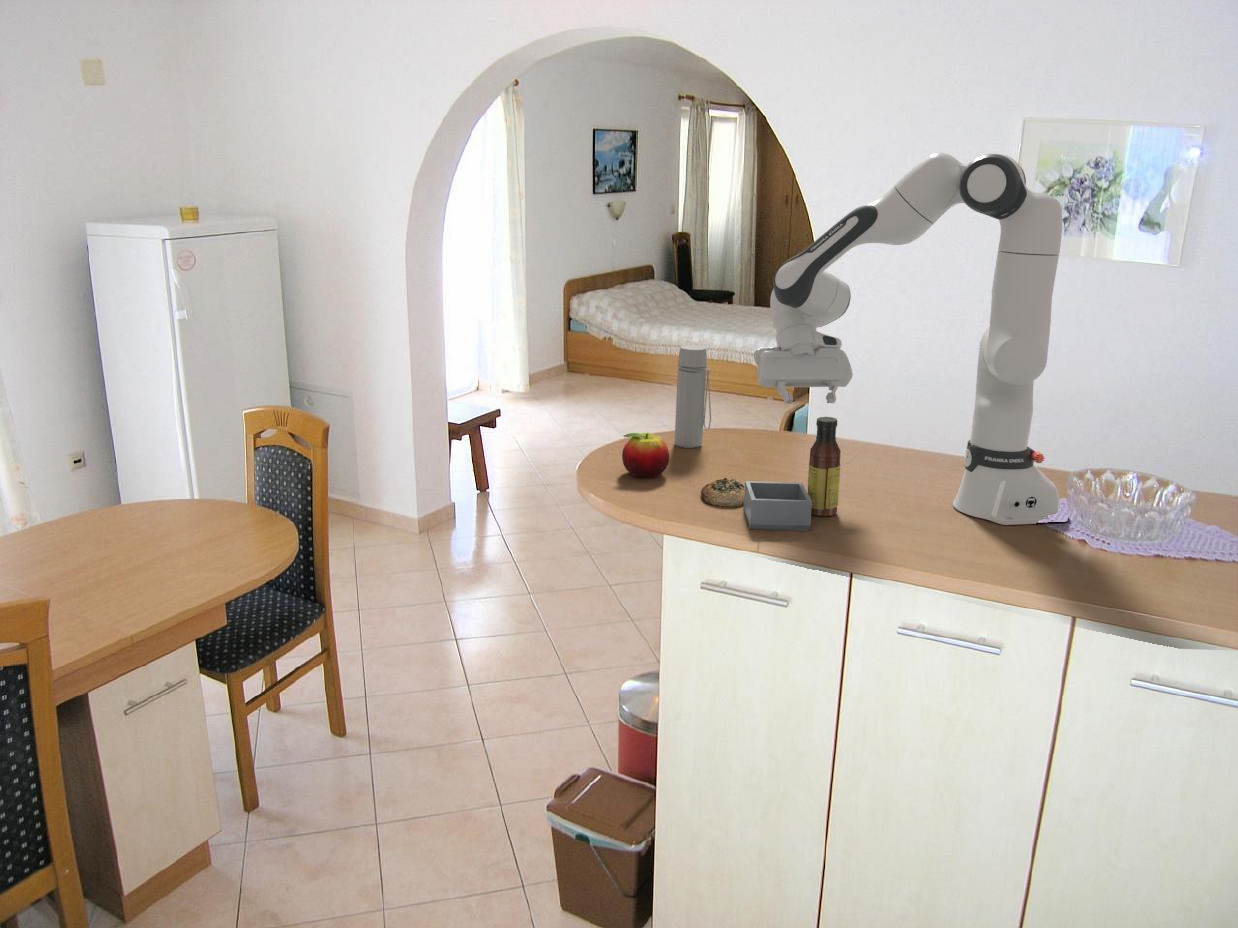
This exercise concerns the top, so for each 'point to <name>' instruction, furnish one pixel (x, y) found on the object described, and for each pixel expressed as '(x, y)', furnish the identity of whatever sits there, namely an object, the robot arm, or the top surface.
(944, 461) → the top surface
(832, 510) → the sauce bottle
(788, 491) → the bin
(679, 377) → the water bottle
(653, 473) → the fruit
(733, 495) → the bread roll
